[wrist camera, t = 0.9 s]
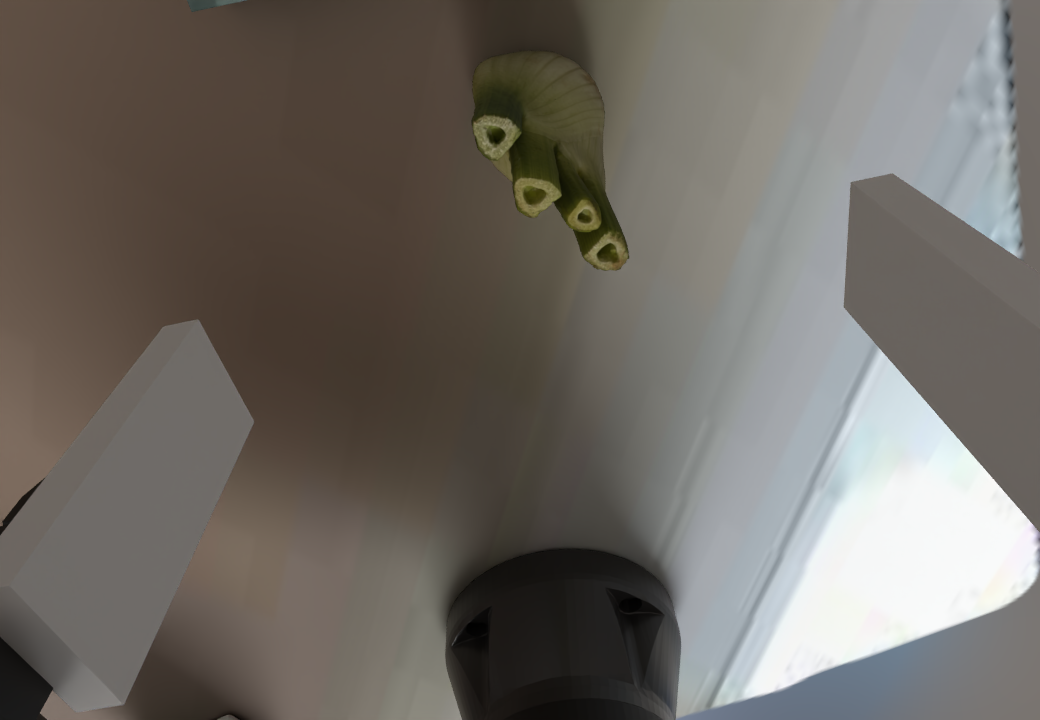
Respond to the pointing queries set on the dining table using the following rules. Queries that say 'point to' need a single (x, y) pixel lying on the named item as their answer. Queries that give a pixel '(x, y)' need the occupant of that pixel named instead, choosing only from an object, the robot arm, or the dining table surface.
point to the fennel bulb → (549, 144)
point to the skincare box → (228, 718)
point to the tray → (208, 4)
